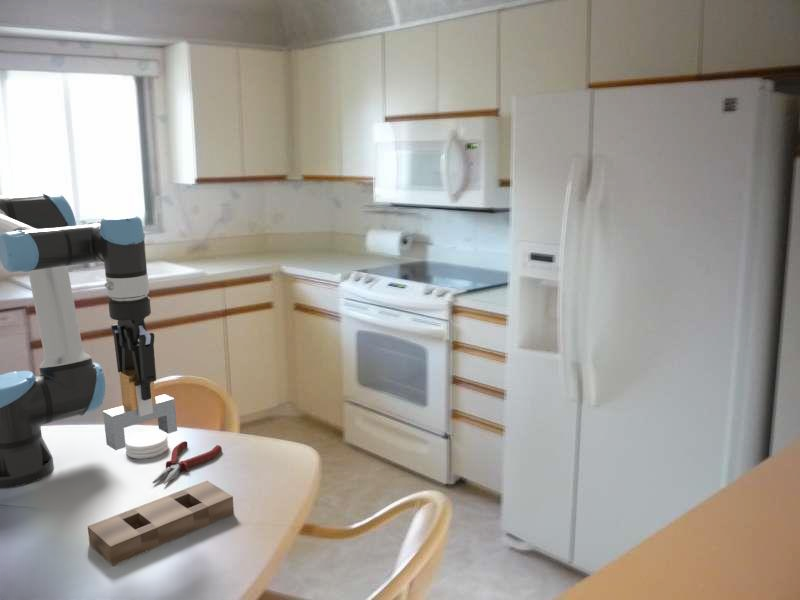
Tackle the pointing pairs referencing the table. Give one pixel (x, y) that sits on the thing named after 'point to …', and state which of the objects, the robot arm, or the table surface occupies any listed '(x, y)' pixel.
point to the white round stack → (146, 444)
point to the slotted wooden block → (159, 522)
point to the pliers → (185, 462)
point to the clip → (136, 411)
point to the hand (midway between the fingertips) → (140, 411)
